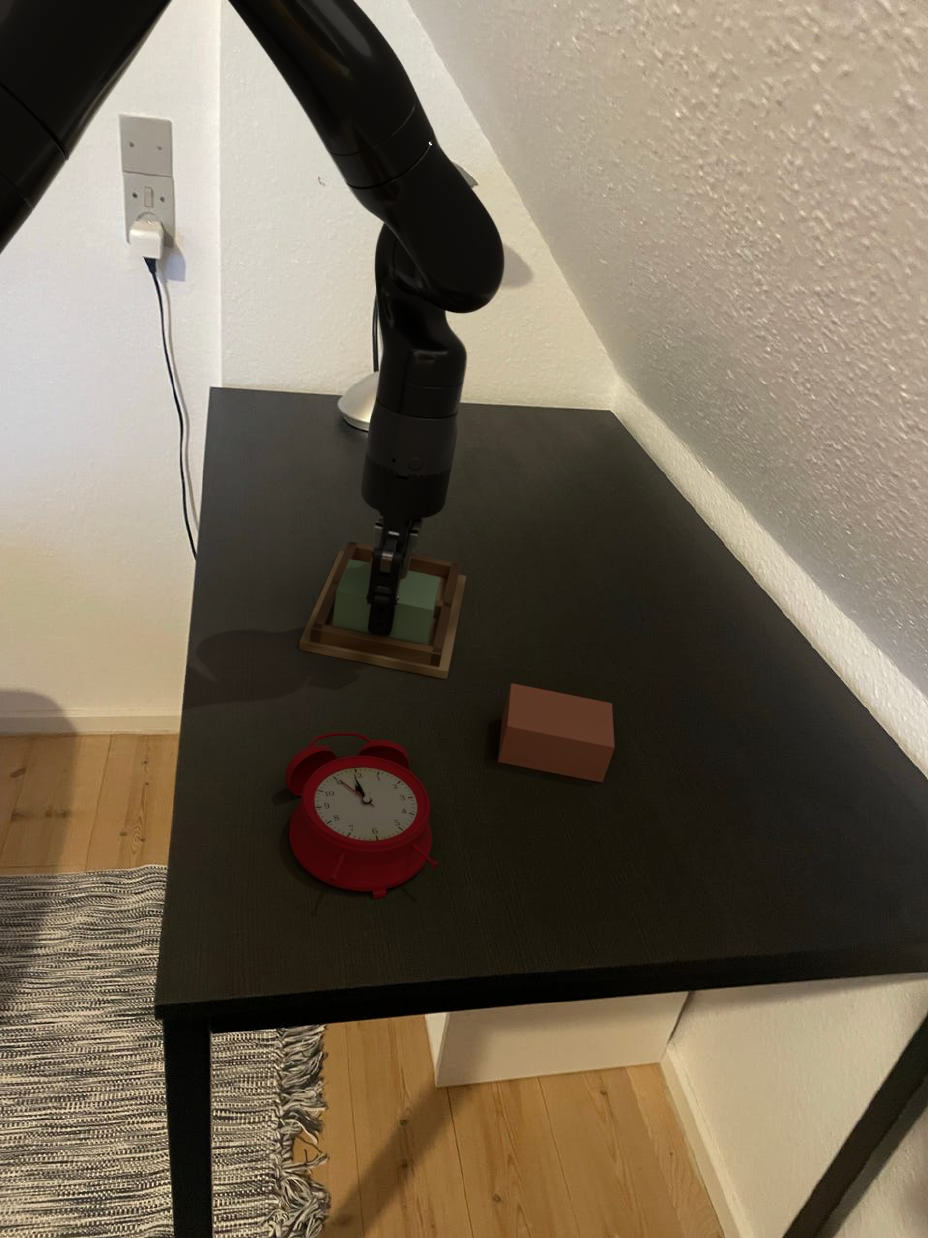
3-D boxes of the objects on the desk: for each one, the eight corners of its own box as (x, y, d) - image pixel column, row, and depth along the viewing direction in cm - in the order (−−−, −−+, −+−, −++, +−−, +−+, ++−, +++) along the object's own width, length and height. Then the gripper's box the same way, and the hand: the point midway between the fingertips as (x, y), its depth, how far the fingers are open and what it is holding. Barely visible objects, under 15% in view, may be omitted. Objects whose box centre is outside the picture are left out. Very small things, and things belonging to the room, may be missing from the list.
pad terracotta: (497, 762, 79) (507, 725, 77) (502, 718, 84) (511, 682, 82) (602, 783, 79) (614, 747, 77) (600, 737, 84) (612, 703, 82)
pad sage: (331, 626, 88) (336, 590, 86) (345, 593, 93) (349, 558, 91) (426, 645, 88) (433, 609, 86) (434, 611, 93) (440, 577, 91)
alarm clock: (311, 881, 61) (277, 698, 70) (300, 926, 65) (268, 748, 74) (462, 860, 65) (410, 689, 74) (442, 903, 69) (395, 736, 78)
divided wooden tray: (298, 650, 87) (300, 627, 86) (338, 557, 103) (341, 537, 101) (446, 679, 88) (451, 658, 86) (465, 583, 103) (469, 563, 101)
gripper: (381, 414, 87) (360, 569, 96) (350, 477, 75) (330, 648, 84) (460, 430, 87) (432, 584, 96) (443, 495, 75) (412, 664, 84)
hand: (385, 613), depth 90 cm, fingers closed on pad sage, 6 cm apart
